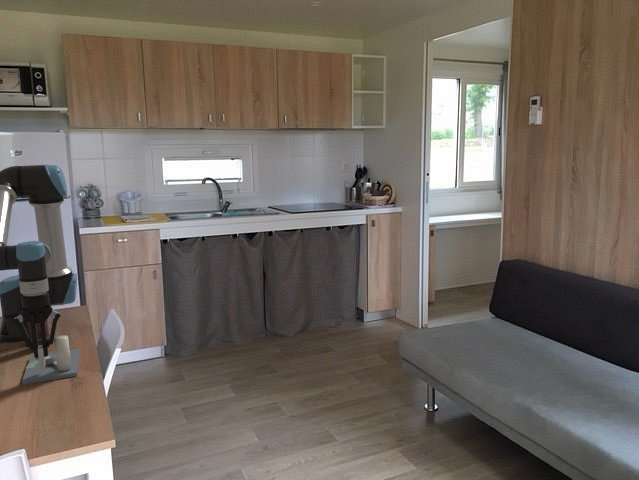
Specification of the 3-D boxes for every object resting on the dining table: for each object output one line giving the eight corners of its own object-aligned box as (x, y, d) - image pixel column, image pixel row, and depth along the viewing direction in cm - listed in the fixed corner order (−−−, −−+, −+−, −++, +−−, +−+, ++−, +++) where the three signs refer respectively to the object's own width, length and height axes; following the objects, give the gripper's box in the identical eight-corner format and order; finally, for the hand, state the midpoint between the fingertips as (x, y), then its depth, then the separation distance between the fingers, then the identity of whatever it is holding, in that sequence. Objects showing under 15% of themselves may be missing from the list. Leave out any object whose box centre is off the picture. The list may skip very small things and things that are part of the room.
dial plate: (30, 359, 179) (29, 355, 179) (79, 352, 184) (79, 348, 184) (21, 385, 159) (21, 380, 158) (77, 375, 164) (76, 372, 164)
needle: (33, 358, 175) (30, 329, 173) (47, 354, 178) (44, 325, 177) (60, 372, 163) (56, 341, 162) (74, 367, 167) (71, 337, 165)
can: (42, 351, 186) (38, 312, 184) (27, 350, 187) (22, 312, 185) (54, 345, 192) (50, 307, 190) (39, 344, 193) (35, 307, 191)
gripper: (8, 298, 153) (17, 375, 157) (58, 293, 159) (65, 367, 162) (11, 292, 160) (20, 366, 164) (59, 287, 165) (66, 359, 169)
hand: (42, 367), depth 163 cm, fingers closed
